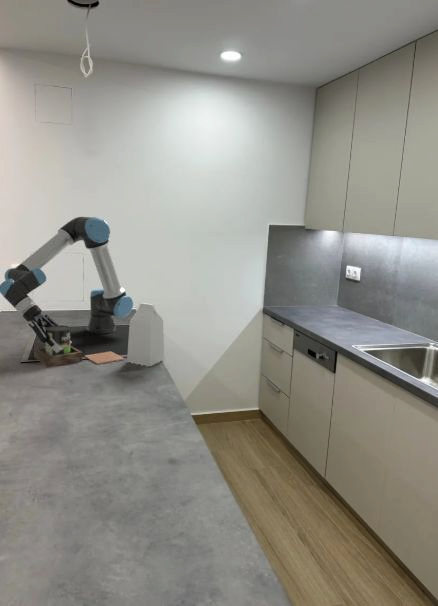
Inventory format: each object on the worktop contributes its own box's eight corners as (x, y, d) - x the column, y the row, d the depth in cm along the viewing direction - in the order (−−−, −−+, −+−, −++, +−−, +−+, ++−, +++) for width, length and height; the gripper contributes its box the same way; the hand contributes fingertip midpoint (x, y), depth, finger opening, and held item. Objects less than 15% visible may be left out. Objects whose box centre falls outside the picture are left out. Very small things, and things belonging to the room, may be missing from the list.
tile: (110, 352, 215) (110, 351, 215) (124, 359, 206) (124, 358, 205) (84, 356, 207) (84, 355, 207) (97, 364, 197) (97, 363, 197)
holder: (68, 352, 212) (68, 343, 212) (82, 361, 201) (82, 352, 200) (34, 357, 203) (34, 348, 202) (46, 366, 191) (46, 357, 190)
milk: (164, 360, 208) (165, 303, 203) (150, 366, 198) (151, 307, 193) (141, 355, 213) (142, 300, 208) (126, 362, 202) (127, 304, 198)
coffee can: (74, 357, 206) (74, 326, 203) (62, 364, 196) (62, 331, 193) (53, 354, 208) (53, 324, 205) (40, 361, 198) (40, 329, 195)
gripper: (35, 310, 211) (69, 346, 212) (9, 321, 188) (47, 360, 190) (46, 299, 209) (80, 335, 211) (21, 309, 187) (59, 349, 189)
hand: (64, 347), depth 201 cm, fingers closed on coffee can, 10 cm apart
